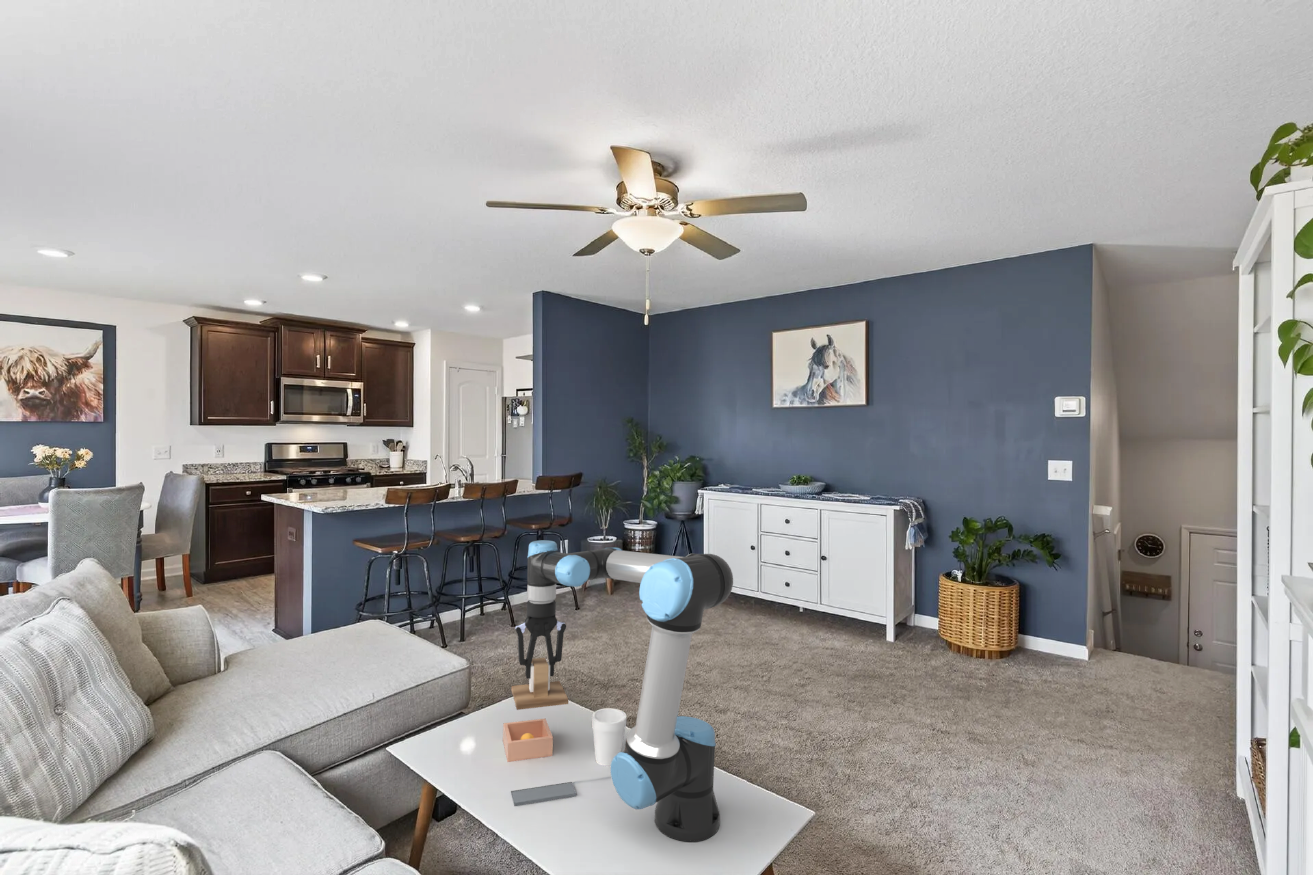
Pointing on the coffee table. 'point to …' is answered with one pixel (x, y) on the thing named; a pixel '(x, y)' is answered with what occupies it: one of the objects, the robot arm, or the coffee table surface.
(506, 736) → the pink open box
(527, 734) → the clementine
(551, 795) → the mat
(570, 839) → the coffee table surface
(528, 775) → the coffee table surface
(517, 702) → the lid
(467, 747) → the coffee table surface
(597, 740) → the foam cup
